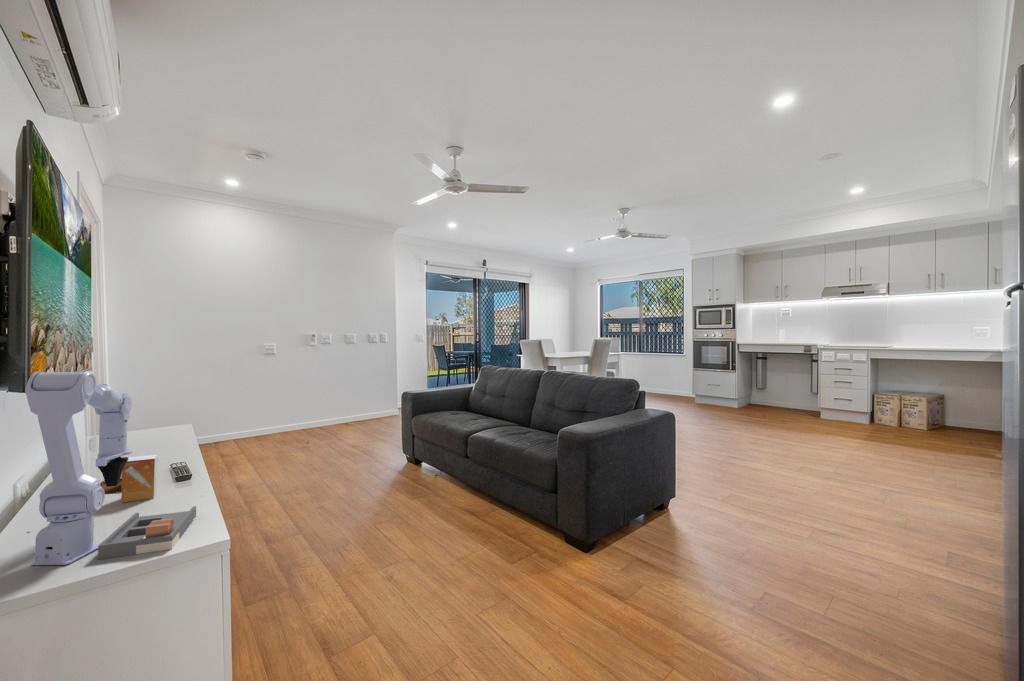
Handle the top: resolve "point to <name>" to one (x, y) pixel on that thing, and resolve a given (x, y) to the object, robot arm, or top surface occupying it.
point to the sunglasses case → (112, 487)
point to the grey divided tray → (144, 535)
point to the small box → (139, 478)
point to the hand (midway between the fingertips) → (112, 485)
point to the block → (160, 528)
